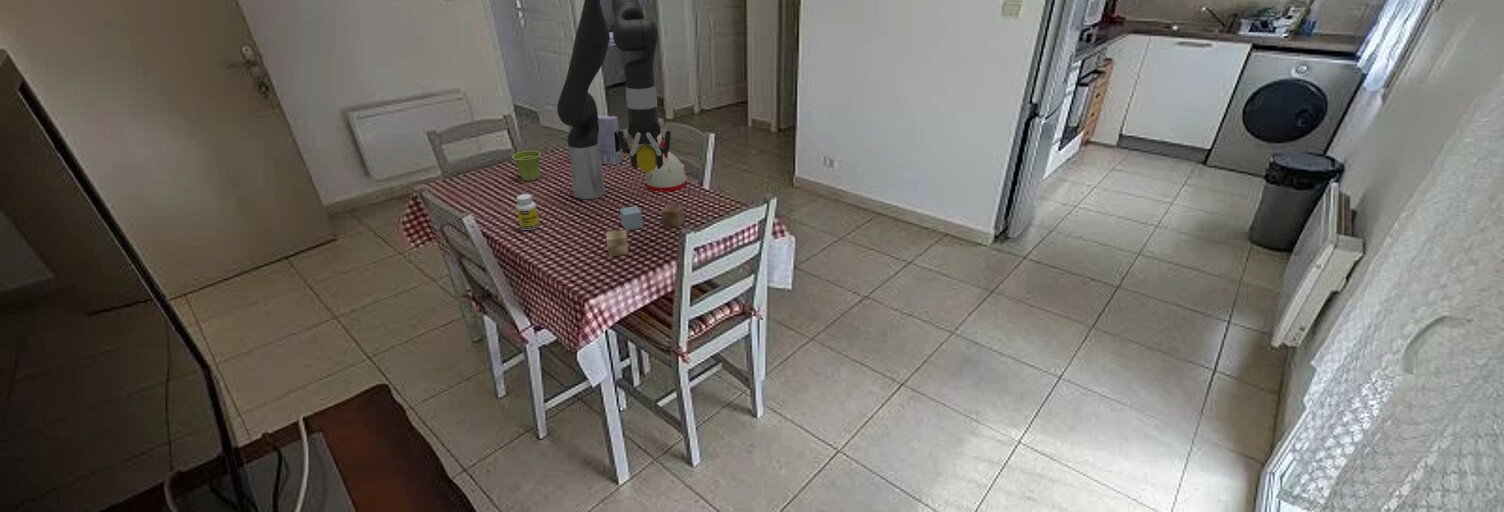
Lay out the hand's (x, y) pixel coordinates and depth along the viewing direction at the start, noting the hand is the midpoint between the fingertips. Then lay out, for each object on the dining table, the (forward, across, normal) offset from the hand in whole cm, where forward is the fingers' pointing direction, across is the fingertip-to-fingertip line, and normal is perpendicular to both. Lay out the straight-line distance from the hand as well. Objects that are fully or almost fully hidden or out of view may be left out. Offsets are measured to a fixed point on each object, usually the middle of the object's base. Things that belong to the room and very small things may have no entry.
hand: (647, 167), depth 158 cm
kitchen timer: (+21, -2, +41) cm, 46 cm away
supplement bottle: (+21, -38, +8) cm, 44 cm away
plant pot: (+21, -51, +49) cm, 74 cm away
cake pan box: (+21, -30, +65) cm, 75 cm away
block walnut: (+21, +4, +9) cm, 23 cm away
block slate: (+21, -8, +8) cm, 24 cm away
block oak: (+21, -8, -8) cm, 24 cm away
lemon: (+2, 0, 0) cm, 2 cm away
